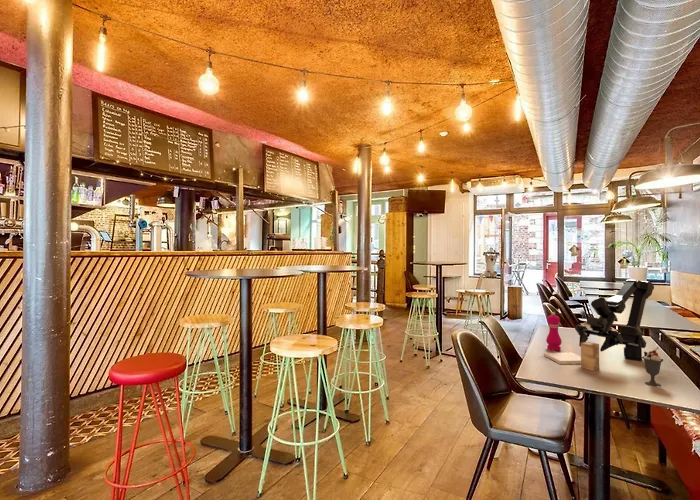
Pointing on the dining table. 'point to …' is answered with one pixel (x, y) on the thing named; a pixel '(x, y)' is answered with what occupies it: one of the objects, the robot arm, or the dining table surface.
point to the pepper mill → (553, 333)
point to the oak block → (590, 355)
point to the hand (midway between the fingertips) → (590, 348)
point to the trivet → (564, 358)
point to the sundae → (652, 366)
